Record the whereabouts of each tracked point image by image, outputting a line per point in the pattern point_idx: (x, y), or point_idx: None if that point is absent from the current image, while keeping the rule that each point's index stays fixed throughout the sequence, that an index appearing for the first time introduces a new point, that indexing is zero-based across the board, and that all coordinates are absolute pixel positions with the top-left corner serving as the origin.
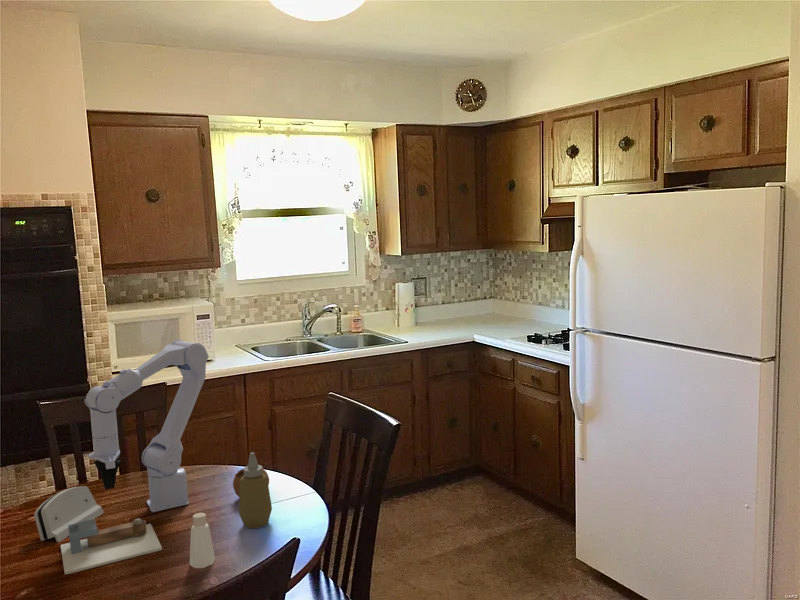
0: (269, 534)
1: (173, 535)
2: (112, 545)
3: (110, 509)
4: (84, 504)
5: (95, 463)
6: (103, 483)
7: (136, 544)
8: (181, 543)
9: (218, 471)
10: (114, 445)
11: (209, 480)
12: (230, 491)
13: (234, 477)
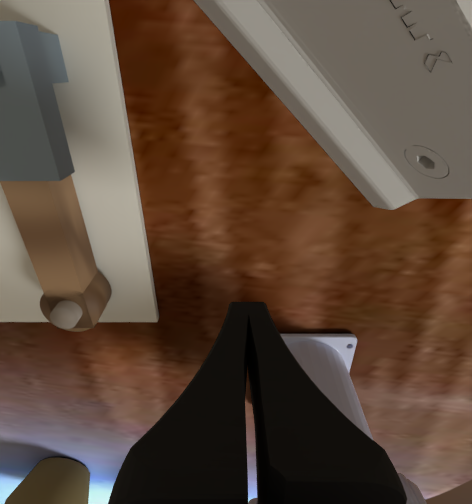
0: (4, 473)
1: (64, 350)
2: None
3: (393, 231)
4: (403, 147)
5: (214, 499)
6: (222, 326)
7: (8, 269)
8: (5, 356)
9: (423, 477)
10: None
11: None
12: None
13: None
